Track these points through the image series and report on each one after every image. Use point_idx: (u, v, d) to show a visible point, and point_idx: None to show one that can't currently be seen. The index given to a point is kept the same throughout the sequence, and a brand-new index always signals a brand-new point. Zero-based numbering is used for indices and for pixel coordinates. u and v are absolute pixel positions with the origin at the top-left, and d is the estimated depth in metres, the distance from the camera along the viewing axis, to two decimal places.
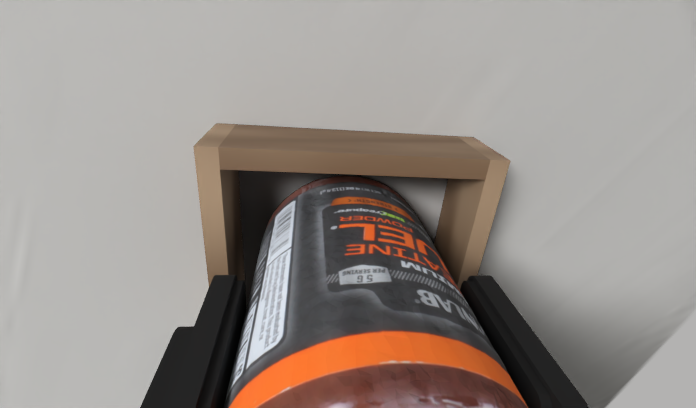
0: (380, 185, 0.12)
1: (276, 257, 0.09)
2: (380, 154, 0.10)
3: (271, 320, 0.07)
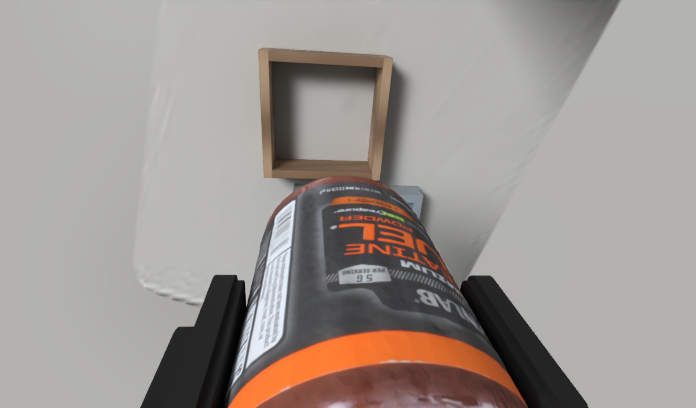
0: (380, 185, 0.12)
1: (276, 256, 0.09)
2: (335, 54, 0.23)
3: (271, 320, 0.07)
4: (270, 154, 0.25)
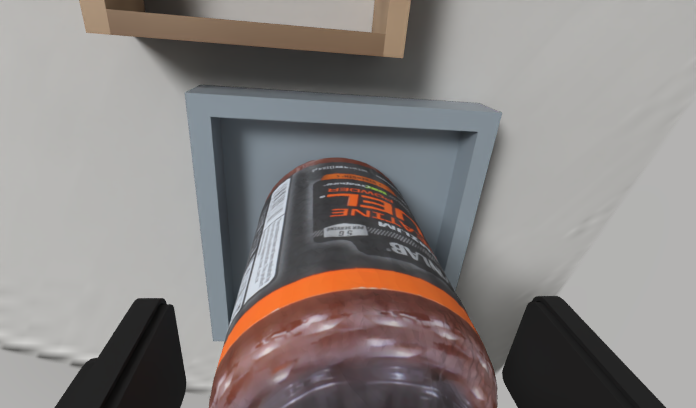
0: (367, 166, 0.13)
1: (272, 222, 0.10)
2: None
3: (265, 267, 0.08)
4: None
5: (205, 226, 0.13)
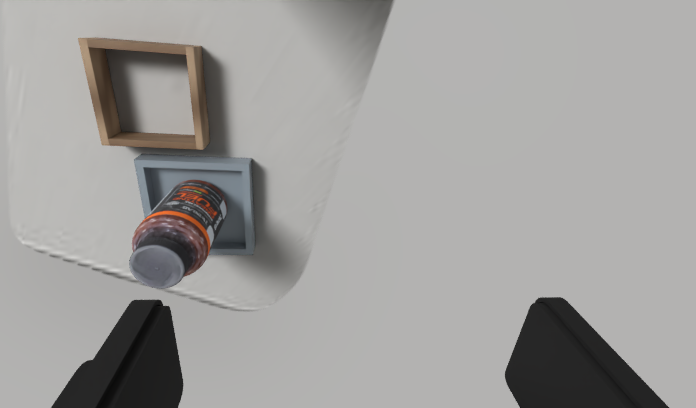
0: (205, 182, 0.35)
1: None
2: (144, 43, 0.28)
3: None
4: (104, 125, 0.31)
5: (144, 205, 0.35)
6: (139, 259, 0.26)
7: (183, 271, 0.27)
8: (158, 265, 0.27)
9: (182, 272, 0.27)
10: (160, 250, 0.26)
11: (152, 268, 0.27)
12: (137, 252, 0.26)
